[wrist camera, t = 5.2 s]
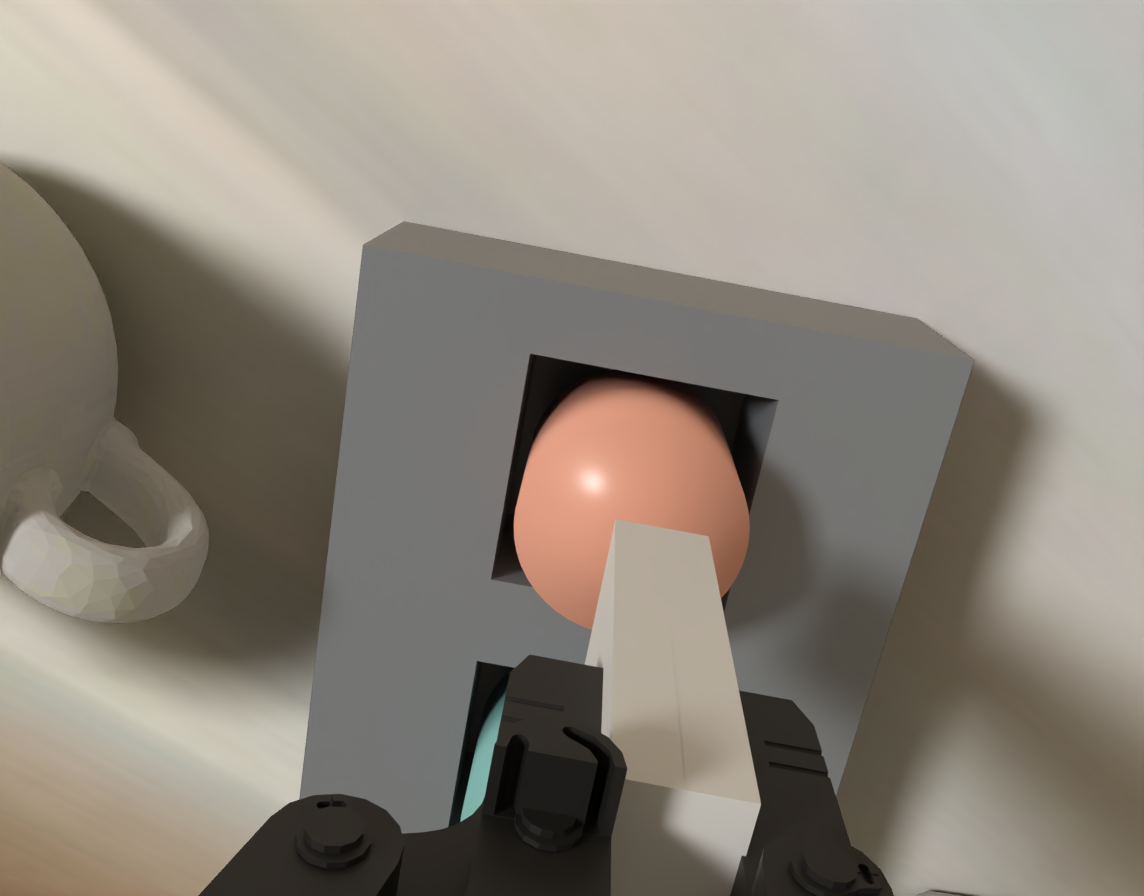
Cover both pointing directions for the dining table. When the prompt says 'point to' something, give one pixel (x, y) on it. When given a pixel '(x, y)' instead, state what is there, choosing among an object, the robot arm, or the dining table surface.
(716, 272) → the dining table surface
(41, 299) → the teacup
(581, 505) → the salmon orange ball
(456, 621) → the console
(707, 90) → the dining table surface
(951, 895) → the flask
